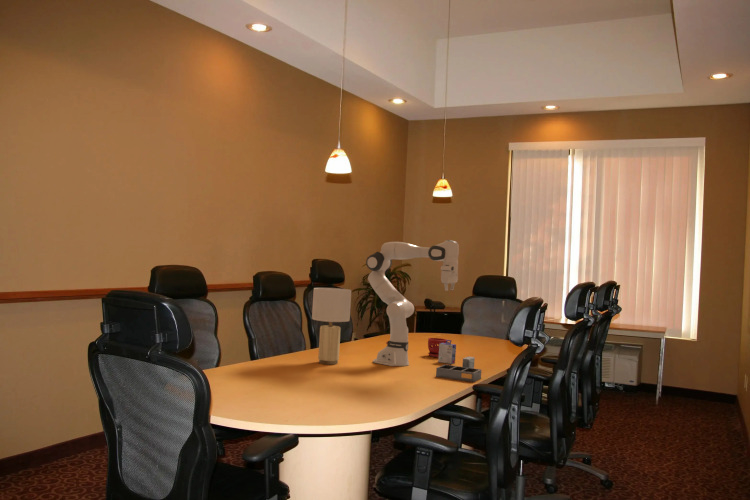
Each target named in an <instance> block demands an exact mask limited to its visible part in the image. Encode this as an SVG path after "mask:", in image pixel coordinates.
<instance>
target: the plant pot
mask: <svg viewBox="0 0 750 500" xmlns="http://www.w3.org/2000/svg"><path fill="white" fill-rule="evenodd" d="M427 340H428V341H427V347H428V348H427V349H428V351H429V352H427V353H428V355H429V356H430V357H434V358H439V344H440V343H446V340H447V339H446V338H439V337H429V338H428V339H427ZM447 342H449V341H447Z"/></svg>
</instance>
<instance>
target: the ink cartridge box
mask: <svg viewBox="0 0 750 500" xmlns="http://www.w3.org/2000/svg"><path fill="white" fill-rule="evenodd" d="M447 341H448V342H447ZM456 354H457V344H454V343H452V339H451V340H450V339H446V343H440V344H439V357H437V359H438V360H437V362H438V363H444V364H447V365H453V364H454V365H455V364H456V356H457V355H456Z"/></svg>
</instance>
